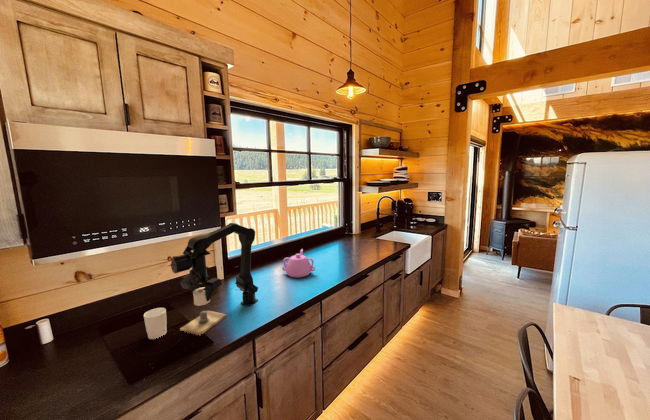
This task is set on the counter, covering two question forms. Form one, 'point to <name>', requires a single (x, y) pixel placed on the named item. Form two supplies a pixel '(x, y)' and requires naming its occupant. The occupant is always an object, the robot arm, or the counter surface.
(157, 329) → the white cup
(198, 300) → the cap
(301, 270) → the teapot
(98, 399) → the counter surface
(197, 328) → the stud block
